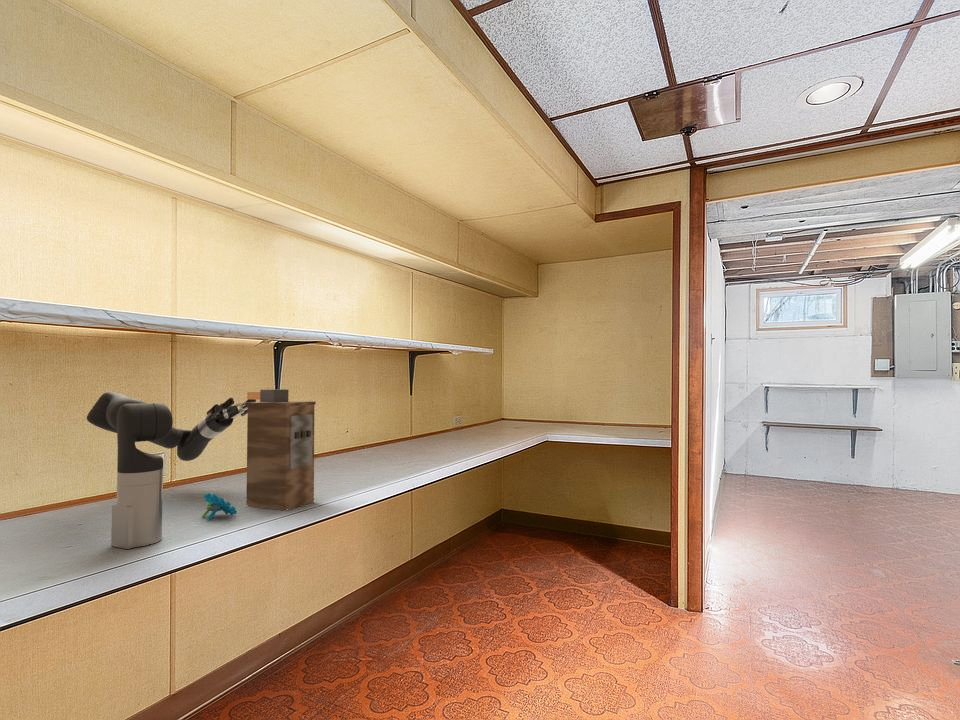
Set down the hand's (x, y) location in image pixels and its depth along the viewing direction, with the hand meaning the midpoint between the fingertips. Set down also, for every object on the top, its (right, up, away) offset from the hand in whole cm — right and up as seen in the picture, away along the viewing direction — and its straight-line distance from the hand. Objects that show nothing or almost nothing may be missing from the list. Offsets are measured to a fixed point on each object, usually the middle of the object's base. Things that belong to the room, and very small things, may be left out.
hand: (243, 399), depth 166 cm
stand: (+16, -32, -9) cm, 37 cm away
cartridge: (+10, -1, -5) cm, 11 cm away
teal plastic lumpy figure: (+4, -32, -24) cm, 40 cm away
